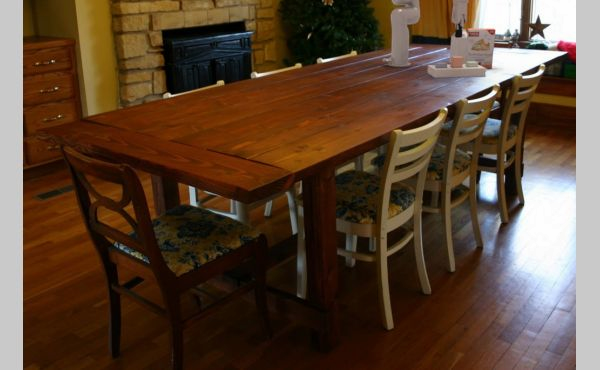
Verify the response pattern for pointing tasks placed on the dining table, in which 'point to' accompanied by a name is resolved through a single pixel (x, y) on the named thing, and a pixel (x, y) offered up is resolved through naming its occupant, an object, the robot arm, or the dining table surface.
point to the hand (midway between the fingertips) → (458, 37)
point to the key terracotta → (456, 61)
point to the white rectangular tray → (456, 71)
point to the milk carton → (459, 45)
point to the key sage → (471, 64)
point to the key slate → (441, 65)
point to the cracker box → (480, 46)
